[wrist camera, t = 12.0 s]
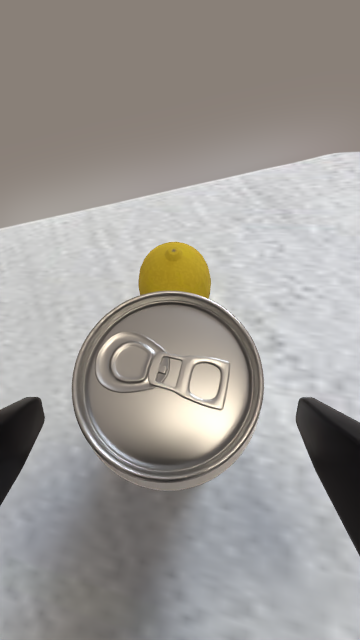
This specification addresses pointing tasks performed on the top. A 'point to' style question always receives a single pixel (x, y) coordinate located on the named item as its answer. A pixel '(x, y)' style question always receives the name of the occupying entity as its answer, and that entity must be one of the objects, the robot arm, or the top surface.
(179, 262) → the lemon
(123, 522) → the top surface
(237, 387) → the can
